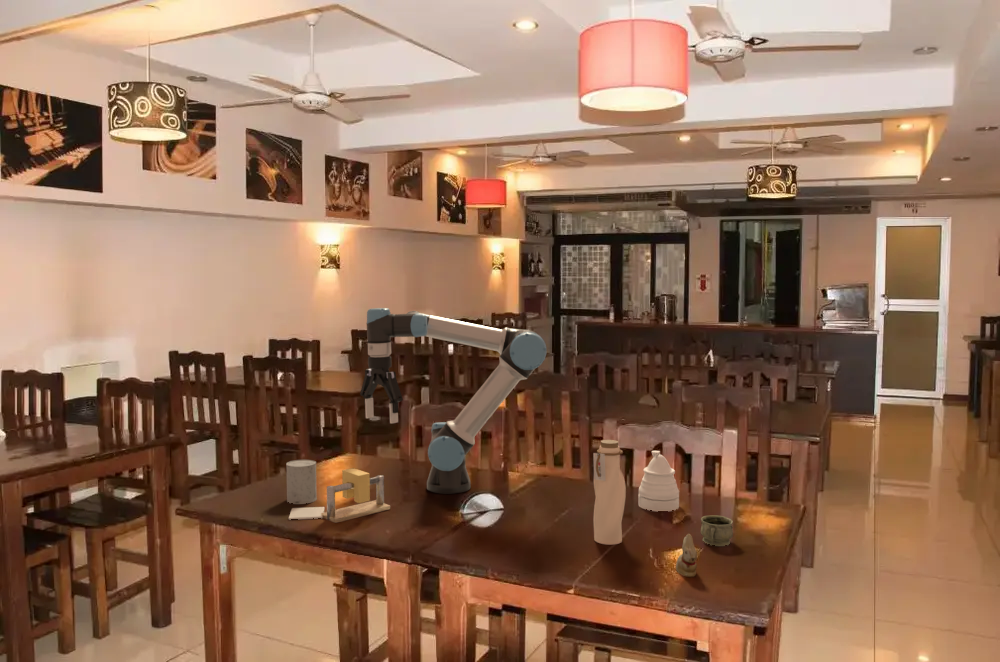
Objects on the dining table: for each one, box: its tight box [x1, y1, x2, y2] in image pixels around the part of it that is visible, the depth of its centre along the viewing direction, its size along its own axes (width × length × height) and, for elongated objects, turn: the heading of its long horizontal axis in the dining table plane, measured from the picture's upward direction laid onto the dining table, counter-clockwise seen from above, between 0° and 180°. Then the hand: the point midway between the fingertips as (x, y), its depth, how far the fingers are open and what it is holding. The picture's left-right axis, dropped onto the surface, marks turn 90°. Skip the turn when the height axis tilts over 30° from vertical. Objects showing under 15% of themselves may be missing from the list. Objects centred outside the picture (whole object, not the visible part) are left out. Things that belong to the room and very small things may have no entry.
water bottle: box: [592, 439, 627, 545], centre depth 220 cm, size 10×9×28 cm
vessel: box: [700, 515, 734, 547], centre depth 220 cm, size 12×9×6 cm
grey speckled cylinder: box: [286, 459, 318, 505], centre depth 259 cm, size 10×10×12 cm
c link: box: [341, 467, 371, 504], centre depth 245 cm, size 9×4×8 cm, turn 44°
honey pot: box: [637, 450, 680, 512], centre depth 254 cm, size 13×13×18 cm
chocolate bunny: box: [675, 533, 698, 578], centre depth 198 cm, size 6×8×10 cm
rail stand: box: [321, 474, 391, 524], centre depth 245 cm, size 20×8×10 cm, turn 134°
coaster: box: [288, 506, 325, 521], centre depth 244 cm, size 10×10×1 cm
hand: (381, 420), depth 258 cm, fingers open, 13 cm apart
